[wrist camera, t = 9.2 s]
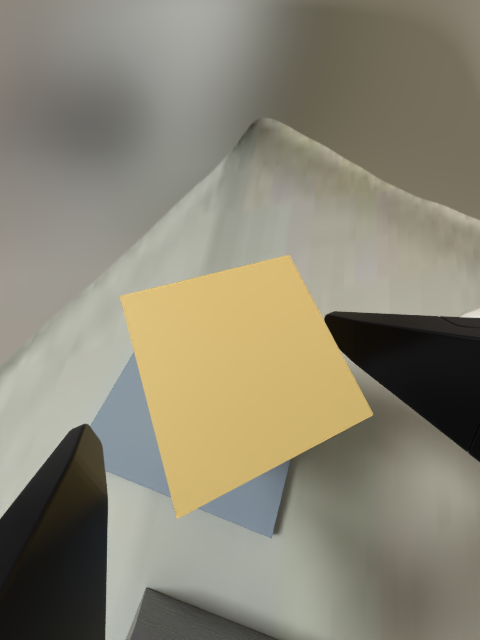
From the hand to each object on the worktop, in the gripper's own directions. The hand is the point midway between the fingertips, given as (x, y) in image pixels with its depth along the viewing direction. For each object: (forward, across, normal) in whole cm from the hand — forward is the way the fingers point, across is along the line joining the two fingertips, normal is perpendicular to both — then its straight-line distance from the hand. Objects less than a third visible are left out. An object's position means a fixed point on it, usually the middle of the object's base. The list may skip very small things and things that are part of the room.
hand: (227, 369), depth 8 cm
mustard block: (+6, 0, +6) cm, 8 cm away
